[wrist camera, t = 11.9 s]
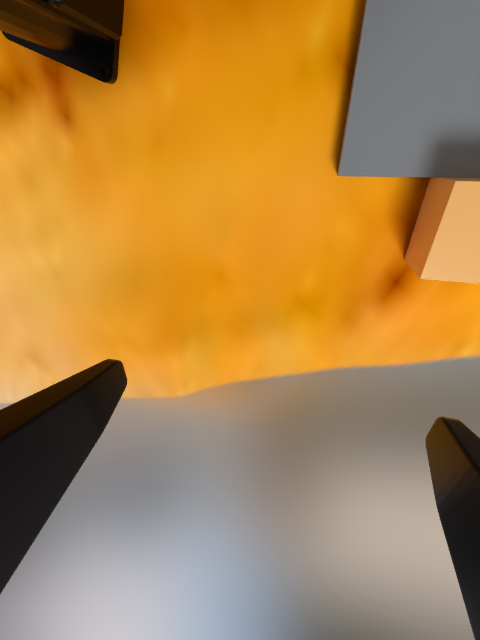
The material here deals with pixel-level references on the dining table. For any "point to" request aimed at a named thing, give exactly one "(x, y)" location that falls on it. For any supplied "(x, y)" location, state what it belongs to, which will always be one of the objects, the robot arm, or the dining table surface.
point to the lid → (422, 123)
